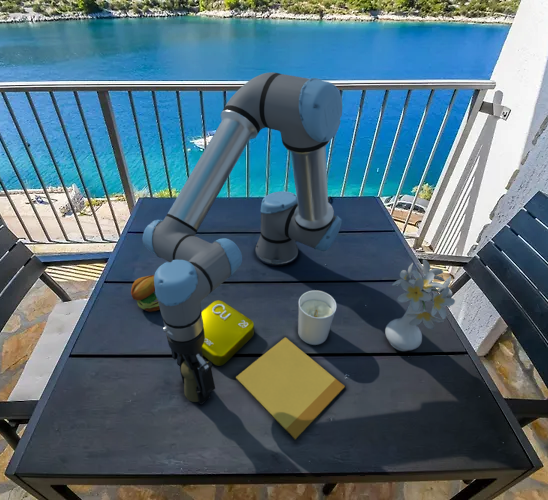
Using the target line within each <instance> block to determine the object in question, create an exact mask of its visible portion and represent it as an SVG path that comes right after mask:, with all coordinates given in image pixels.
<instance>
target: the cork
mask: <svg viewBox="0 0 548 500" xmlns="http://www.w3.org/2000/svg"><path fill="white" fill-rule="evenodd" d="M181 373H182V375H183V377H184V384H183V385H184V386H183V392H184V397H185V398H186V399H187V400H188V401H190V402H193V403H199V400H198V395H197V392H196V387H197V383H196V380H195V377H194V375H193V372H192V370H191V369H190V368H189V367H188V365H187V363H186V360H184V362H183V363H182V365H181V372H180V374H181Z"/></svg>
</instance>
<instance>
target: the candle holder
mask: <svg viewBox="0 0 548 500" xmlns="http://www.w3.org/2000/svg"><path fill="white" fill-rule="evenodd" d="M337 307H338V306H337V302H336V299H334V297H333V296H332V295H330V294H329V293H327V292H325V291H323V290H317V289H316V290H315V289H313V290H308V291H306V292H304V293H302V294H301V296H299V299H298V314H297V333H298V336H299V338H300V340H302V341H303V342H304V343H306V344H308V345H313V346H316V345H317V346H319V345H321V344H324V342H326V340H327V339H328V336H329V333H330V330H331V328H332V324H333V320H334V317H335V314H336V311H337Z"/></svg>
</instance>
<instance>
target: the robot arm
mask: <svg viewBox="0 0 548 500" xmlns="http://www.w3.org/2000/svg"><path fill="white" fill-rule="evenodd" d="M342 117H343V99H342V94H341V92H340V90H339V89H338V87H337V86H336V85H335V84H333V83H332V82H329V81H325V80H322V79H320V78H316V77H312V78H308V77H302V76H295V75H289V74H284V73H279V72H265V73H261V74H259V75H257V76H254V77H253V78H251V79H250V80H248V81H247V82H246V83H244V84H243V85H242V86H240V88H239V89H238V90H237V91H236V92H235V93H234V94H233V95H232V96H231V97H230V99H229V100H228V101H227V102H226V103H225V106H224V108H223V109H222V111H221V113H220V120H221V122H220V123H219V125H218V127H217V128H216V130H215V131H214V134H213V135H212V137H211V139H210V141H209V142H208V144H207V145H206V147H205V149H204V151H203V152H202V153H201V156H200V157H199V159H198V161H197V162H196V164H195V166H194V168H193V169H192V171H191V173H190V175H189V176H188V178H187V179H186V181H185V183H184V185H183V186H182V188H181V190H180V192H179V193H178V195H177V197H176V198H175V200H174V202H173V203H172V205H171V207H170V209H169V210H168V211H167V214H166V215H165V217H164V219H155V220H152V221H151V222H150V223H149V224H147V226H145V228H144V231H143V233H142V244H143V246H144V247H145V249H147V250H148V251H149V252H150V253H152V254H154V255H156V257H157V258H160V259H162V260H164V261H165V262H164V263H162V264H161V265H159V266H158V268H157V269H155V272H154V274H153V275H154V285H155V292H156V293H155V294H156V297H157V299H158V303H159V307H160V309H159V310H160V314H161V317H162V321H163V326H164V327H163V328H162V332H163V333H165V335H166V336H165V337H166V340H167V344H168V347H169V349H170V351H171V356H172V359H173V360H176V365H177V366H178V367H179V372H180V377H181V380H182V383H183V385H184V377H183V375H182V373H181V365H182V363H183V362H184V360H186V363H187V365H188V367H189V368H190V369H191V370H192V372H193V375H194V377H195V380H196V383H197V387H196V392H197V395H198V400H199V401H198V403H199V404H200V405H202V404H203V403H205V402H206V401H207V400H208V399H210V398H211V394H210V393H211V392H212V391H214V390H215V389H216V386H215V381H214V376H213V375H214V374H213V370H212V368H213V363H212V362H211V361H209V360H206V361H205V359H204V356H203V353H202V349H201V347H202V345H203V343H204V340H205V334H204V326H203V318H202V311H203V310H202V301H203V300H205V298H207V297H208V296H209V295H210V294H211V293H213V292H214V291H215V290H216V289H217V288H218V287H219V286H221V285H222V284H223V283H224V282H226V281H227V280H228V279H230V278H231V277H232V276H233V274H235V272H236V271H237V270H238V269H239V268H240V267H241V266H242V263H243V253H242V251H241V249H240V248H239V246H238V245H237V244H236V243H235V242H234V241H233V240H231V239H230V238H226V237H222V238H219V239H216V240H214V241H213V242H209V241H207V240H205V239H203V238H200V237H199V236H196V234H197V233H198V232H199V229H200V227H201V226H202V224H203V222H204V220H205V218H207V215H208V213H209V211H210V210H211V208H212V206H213V205H214V203H215V201H216V199H217V198H218V196H219V194H220V192H221V191H222V189H223V187H224V185H225V184H226V183H227V180H228V178H229V177H230V175H231V174H232V172H233V170H234V168H235V167H236V165H237V163H238V161H239V159H240V157H241V156H242V154H243V153H244V150H245V149H246V147H247V146H248V143H249V142H250V140H254V139H256V138H258V135H259V133H260V132H261V131H262V130H263V129H265V128H267V129H271V130H274V131H277V132H279V133H280V138H281V143H282V146H283V147H284V148H285V149H286V150H287V151H289V153H290V159H291V167H292V173H293V174H292V175H293V180H294V188H295V193H293V192H291V191H283V190H281V191H275V192H272V193H269V194H267V195H266V196H264V197H263V199H262V201H261V203H260V204H261V205H260V235H259V238H258V239H257V243H256V245H255V250H254V251H255V256H256V259H257V260H258V261H260V262H261V263H263V264H264V265H267V266H270V267H284V266H285V267H286V266H288V265H290V264H293V263H294V262H295V261H296V260H297V258H298V256H299V247H298V245H297V242H298V243H300V244H303V245H305V246H307V247H309V248H312V249H314V250H317V251H320V252H326V251H328V250H329V249H330V248H331V247H332V245H333V244H334V242H335V241H336V239H337V237H338V235H339V232H340V230H341V228H342V224H343V219H342V218H341V217H339V215H335V211H334V208H333V206H332V204H331V203H330V201H331V199H332V196H329V193H328V192H329V191H328V169H327V168H328V167H327V150H326V149H327V146H328V144H330V142H331V140H332V139H333V138H334V137H335V136H336V134H337V132H338V130H339V128H340V126H341V118H342Z"/></svg>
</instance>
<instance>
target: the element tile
mask: <svg viewBox="0 0 548 500" xmlns="http://www.w3.org/2000/svg"><path fill="white" fill-rule="evenodd" d="M201 311H202V318H203V326H204V334H205V340H204V343H203V345H202V347H201V349H202V353H203V358H204V357H205V359H207V361H210V362H211V363H212V365H215V366H218V367H220V366H224V365H225V364H226V363H227V362H228V361H230V359H232V357H233V356H234V355H236V353H238V352H239V351H240V350H241V349H242V347H244V346H245V345H246V344H247V343H248V342H249V341H250V340H251V339H252V338H253V337H254V334H255V322H254V321H253V320H252V318H251V319H250V318H249V317H248V316H246V315H244V314H243V313H241V312H240V311H239V310H237V309H236V308H234V307H232V306H231V305H230V304H228V303H226V302H224V301H223V300H219V299H218V300H214V301H212V302H211V303H210V304H209V305H207V306H205V308H203V310H201Z"/></svg>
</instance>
